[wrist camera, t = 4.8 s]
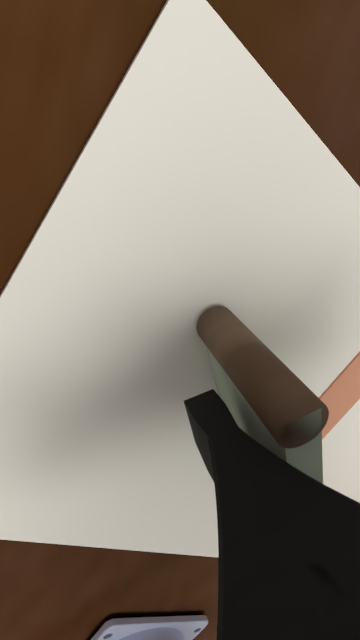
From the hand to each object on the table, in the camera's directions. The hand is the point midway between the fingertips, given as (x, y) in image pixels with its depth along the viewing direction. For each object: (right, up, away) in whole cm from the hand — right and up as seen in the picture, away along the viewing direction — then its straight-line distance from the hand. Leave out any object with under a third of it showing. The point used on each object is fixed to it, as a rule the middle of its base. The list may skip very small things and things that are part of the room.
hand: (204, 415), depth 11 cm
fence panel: (+2, -1, +3) cm, 3 cm away
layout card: (+5, -2, +6) cm, 8 cm away
